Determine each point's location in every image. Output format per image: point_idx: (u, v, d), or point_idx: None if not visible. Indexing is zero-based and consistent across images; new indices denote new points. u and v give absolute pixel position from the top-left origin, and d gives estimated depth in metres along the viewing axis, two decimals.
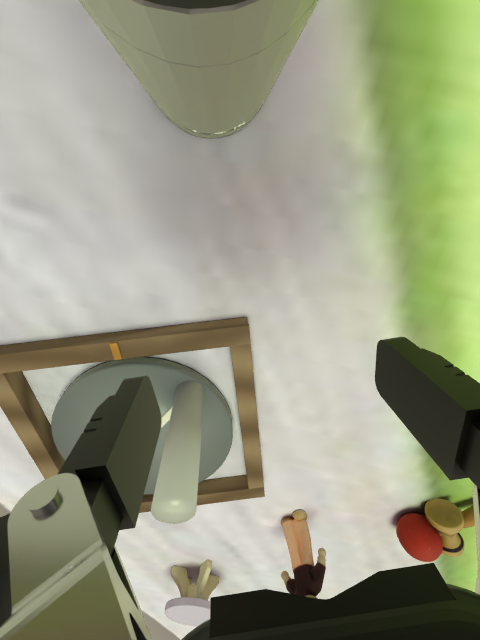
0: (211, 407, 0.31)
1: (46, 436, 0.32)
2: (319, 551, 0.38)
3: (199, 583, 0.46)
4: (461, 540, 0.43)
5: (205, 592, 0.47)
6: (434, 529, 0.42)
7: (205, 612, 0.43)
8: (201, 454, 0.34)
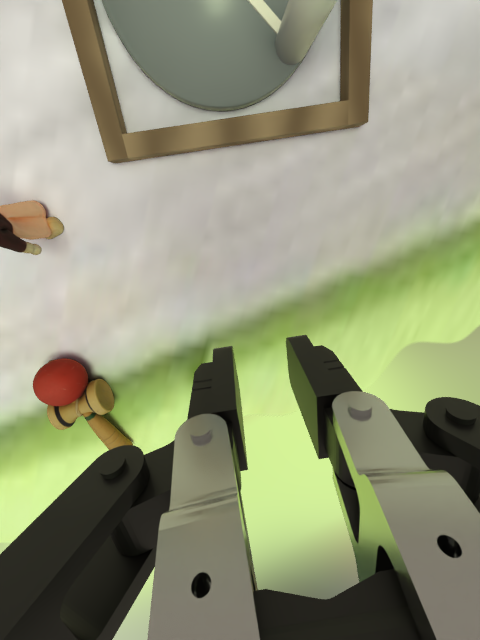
0: (266, 74, 0.26)
1: None
2: (37, 245, 0.27)
3: None
4: (71, 424, 0.38)
5: None
6: (83, 391, 0.36)
7: None
8: (186, 55, 0.25)
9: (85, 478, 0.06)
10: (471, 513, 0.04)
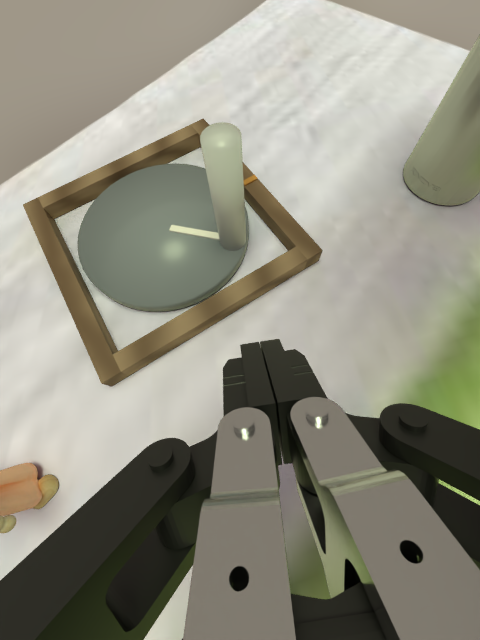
0: (222, 262, 0.30)
1: (137, 168, 0.37)
2: (10, 516, 0.20)
3: None
4: None
5: None
6: None
7: None
8: (156, 279, 0.30)
9: (134, 466, 0.06)
10: (427, 510, 0.04)
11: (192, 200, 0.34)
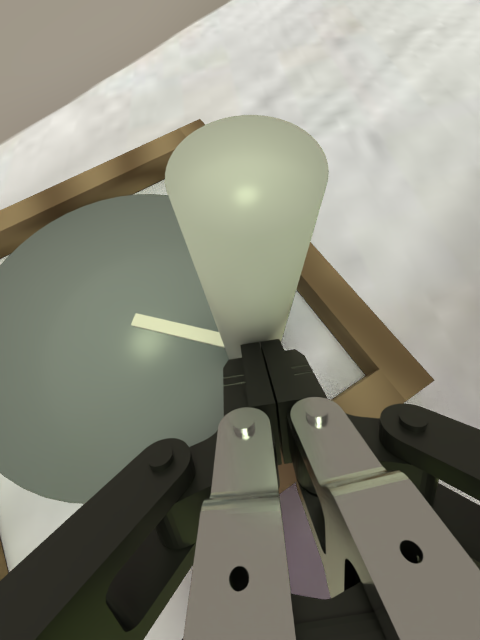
0: None
1: (87, 201, 0.22)
2: None
3: None
4: None
5: None
6: None
7: None
8: (99, 436, 0.15)
9: (134, 466, 0.06)
10: (427, 510, 0.04)
11: (177, 263, 0.19)
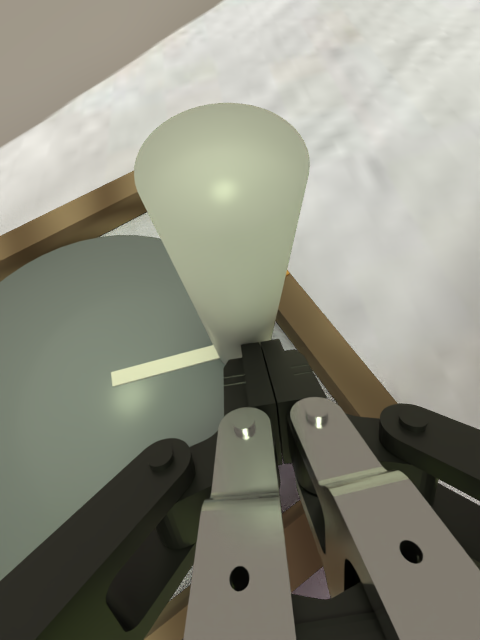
0: None
1: (61, 241, 0.20)
2: None
3: None
4: None
5: None
6: None
7: None
8: None
9: (134, 466, 0.06)
10: (427, 511, 0.04)
11: (126, 303, 0.17)
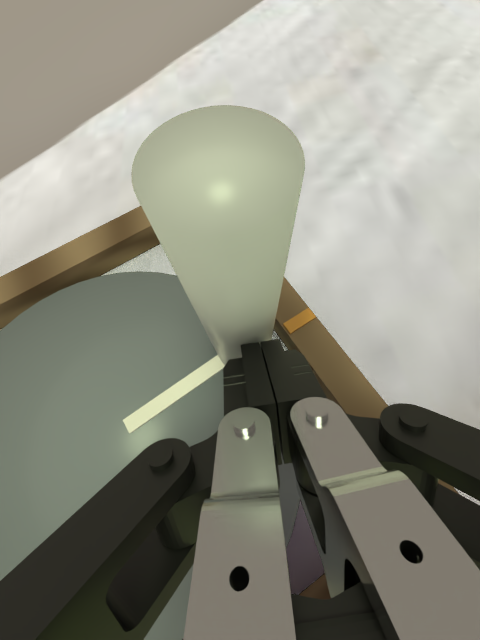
0: None
1: (73, 276, 0.19)
2: None
3: None
4: None
5: None
6: None
7: None
8: None
9: (134, 466, 0.06)
10: (426, 510, 0.04)
11: (112, 346, 0.16)
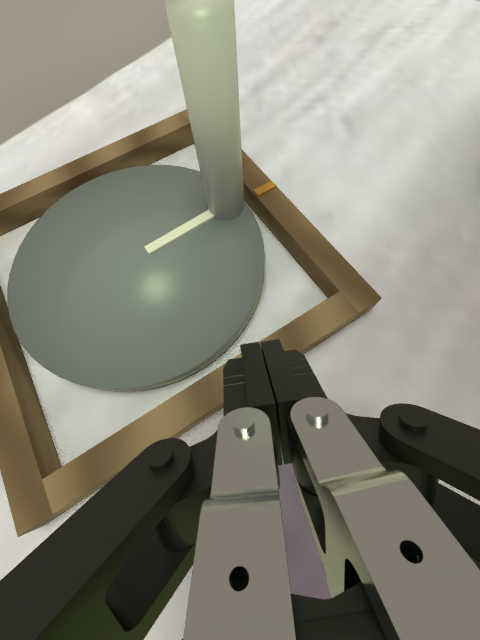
0: (244, 232, 0.22)
1: (105, 172, 0.26)
2: None
3: None
4: None
5: None
6: None
7: None
8: (199, 309, 0.20)
9: (134, 466, 0.06)
10: (427, 510, 0.04)
11: (136, 208, 0.24)
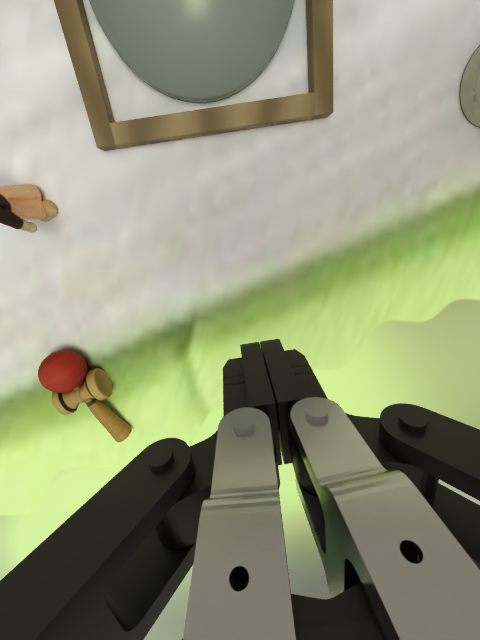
0: None
1: None
2: (32, 223, 0.30)
3: None
4: (74, 410, 0.42)
5: None
6: (83, 379, 0.40)
7: None
8: (224, 53, 0.28)
9: (134, 466, 0.06)
10: (427, 511, 0.04)
11: None
